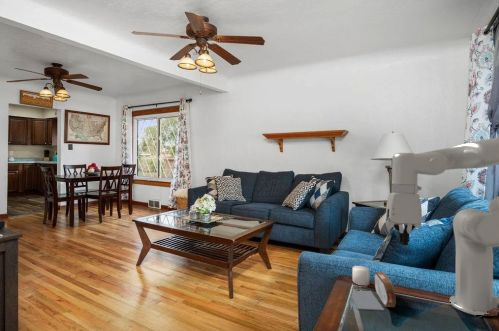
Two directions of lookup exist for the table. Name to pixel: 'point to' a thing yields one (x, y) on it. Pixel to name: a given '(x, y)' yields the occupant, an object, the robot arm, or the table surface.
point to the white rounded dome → (361, 275)
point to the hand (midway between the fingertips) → (403, 244)
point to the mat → (366, 300)
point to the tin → (384, 289)
